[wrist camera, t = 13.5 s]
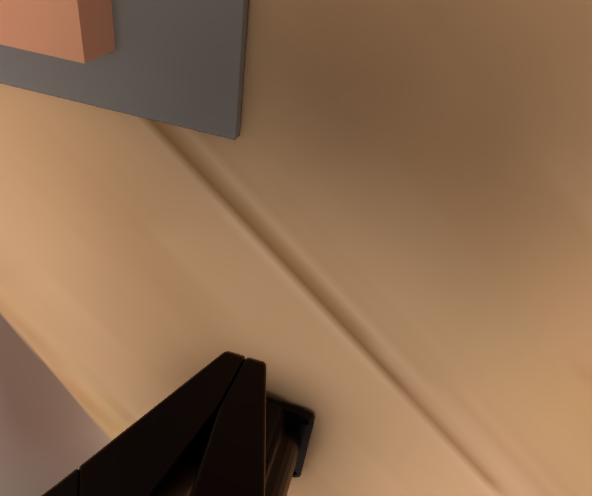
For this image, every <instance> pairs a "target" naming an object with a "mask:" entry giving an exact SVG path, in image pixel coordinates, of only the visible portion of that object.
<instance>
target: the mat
mask: <svg viewBox="0 0 592 496" xmlns="http://www.w3.org/2000/svg"><path fill="white" fill-rule="evenodd" d="M111 1H112V13H113V25H114V37H115V49H116V50H114V51H112V52H109V53H107V54H105V55H103V56H101V57H98V58H96V59H94V60H92V61H90V62H87V63H85V64H84V63H80V62H75V61H71V60H66V59H62V58H58V57H53V56H49V55H45V54H40V53H36V52H32V51H27V50H23V49H18V48H14V47H10V46H5V45H1V44H0V83H1V84H6V85H10V86H14V87H18V88H22V89H26V90H30V91H35V92H39V93H43V94H47V95H51V96H55V97H59V98H64V99H68V100H72V101H76V102H80V103H84V104H88V105H93V106H97V107H101V108H105V109H109V110H113V111H117V112H122V113H126V114H130V115H134V116H138V117H142V118H146V119H151V120H155V121H159V122H163V123H167V124H171V125H175V126H180V127H184V128H188V129H192V130H196V131H200V132H204V133H208V134H213V135H217V136H221V137H225V138H229V139H233V140H236V139H237V137H238V136H239V135H240V122H241V107H242V91H243V76H244V61H245V46H246V31H247V16H248V1H249V0H111Z"/></svg>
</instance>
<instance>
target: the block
mask: <svg viewBox="0 0 592 496" xmlns="http://www.w3.org/2000/svg"><path fill="white" fill-rule="evenodd" d="M0 44H1V45H5V46H10V47H14V48H18V49H23V50H27V51H32V52H36V53H40V54H45V55H49V56H53V57H58V58H62V59H66V60H71V61H75V62H80V63H84V64H85V63H87V62H90V61H92V60H94V59H96V58H98V57H101V56H103V55H105V54H107V53H109V52H112V51H114V50H116V49H115V37H114V25H113V13H112V1H111V0H0Z"/></svg>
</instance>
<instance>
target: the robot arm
mask: <svg viewBox="0 0 592 496" xmlns="http://www.w3.org/2000/svg"><path fill="white" fill-rule="evenodd" d="M314 420H315V416H314V415H313V414H312V413H311V412H309V411H306V410H303V409H300V408H296V407H293V406H290V405H287V404H283V403H280V402H277V401H274V400H271V399H267V398H266V363H265V362H263V361H259V360H256V359H253V358H246V359H245V357H244V356H243V355H240V354H236V353H233V352H230V351H227V352H224V353H222V354H221V355H220V356H219V357H217V358H216V359H215V360H213V361H212V362H211V363H210V364H208V365H207V366H206V367H205V368H203V369H202V370H201V371H200V372H198V373H197V374H196V375H195V376H193V377H192V378H191V379H189V380H188V381H187V382H186V383H184V384H183V385H182V386H181V387H179V388H178V389H177V390H176V391H174V392H173V393H172V394H171V395H169V396H168V397H167V398H165V399H164V400H163V401H162V402H160V403H159V404H158V405H157V406H155V407H154V408H153V409H152V410H150V411H149V412H148V413H146V414H145V415H144V416H143V417H141V418H140V419H139V420H138V421H136V422H135V423H134V424H133V425H131V426H130V427H129V428H128V429H126V430H125V431H124V432H122V433H121V434H120V435H119V436H117V437H116V438H115V439H114V440H112V441H111V442H110V443H109V444H107V445H106V446H105V447H103V449H101V450H100V451H98V452H97V453H96V454H95V455H93V456H92V457H91V458H90V459H88V460H87V461H86V462H85V463H83V464H82V465H81V466H80V468H79V470H78V469H76V470H74V471H73V472H72V473H70V474H69V475H68V476H67V477H65V478H64V479H63V480H62V481H61V482H59V483H58V484H57V485H55V486H54V487H53V488H51V489H50V490H49V491H47V492H46V493H45V494H43V495H42V496H287V492H288V489H289V485H290V482H291V479H292V477H299V476H300V475H301V471H302V468H303V464H304V460H305V456H306V452H307V448H308V444H309V440H310V436H311V432H312V428H313V424H314Z"/></svg>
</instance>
